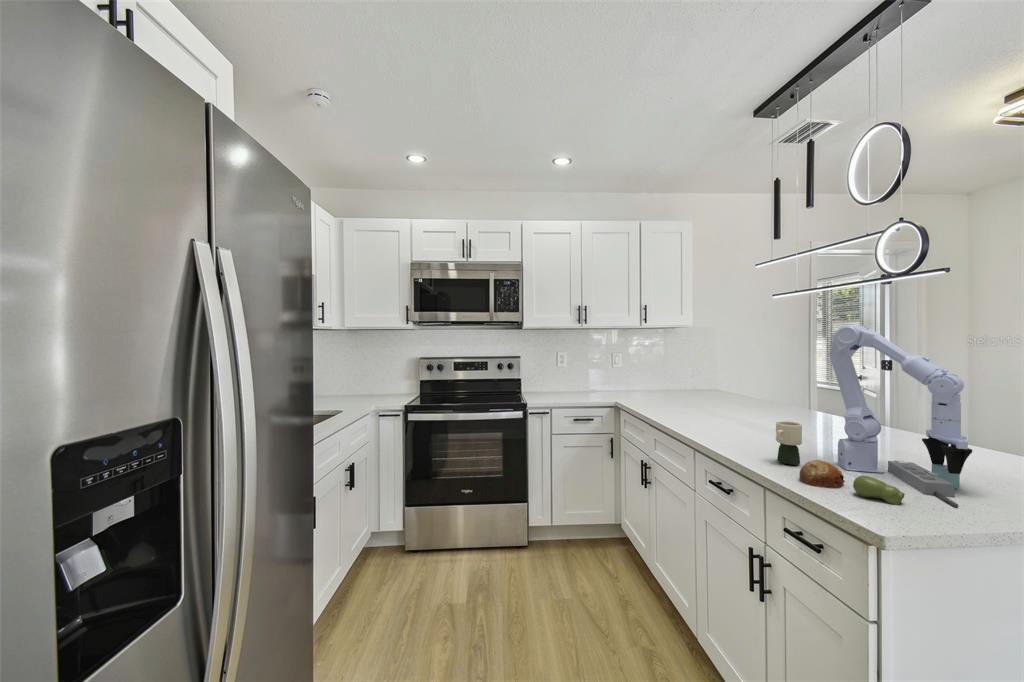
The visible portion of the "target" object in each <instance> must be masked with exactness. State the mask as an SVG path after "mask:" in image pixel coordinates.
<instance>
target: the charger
mask: <svg viewBox="0 0 1024 682" xmlns="http://www.w3.org/2000/svg"><path fill="white" fill-rule="evenodd" d="M926 473H928V474H930V475H931V476H939V477H941V478H943V479H945V480H947V481H949V482H951V483H953V484H955V489H959V490H960V489H961V488H960V487H961V486H960V485H961V484H960V480H961V479H960V478H961V477H960V476H961V473H960V474H951V473H949V471H948V467H947V464H943V465H938V464H932V463H931V471H930V472H927V471H926Z"/></svg>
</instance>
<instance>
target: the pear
mask: <svg viewBox="0 0 1024 682" xmlns="http://www.w3.org/2000/svg"><path fill="white" fill-rule="evenodd" d="M852 483H853V485H852V487H853V490H854V491H855V492H856V493H857V495H859V496H861V497H863V498H880V499H883V500H884V501H885V502H887V503H889V504H891V505H894V506H897V505H900V503H901V502H902V500H903V499H904V497H905V495H906V494H905V492H902V491H901V490H900V489H899V488H898V487H895V486H893V485H890V484H887V483H885V482H884V481H882V480H880V479H878V478H875V477H872V476H870V475H869V476H868V475H859V476H857V477H855V479H854V480H853V482H852Z"/></svg>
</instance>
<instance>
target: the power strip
mask: <svg viewBox="0 0 1024 682" xmlns="http://www.w3.org/2000/svg"><path fill="white" fill-rule="evenodd" d="M926 471H927V472H931V471H930V470H928V469H926V468H924V467H922V466H920V465H918V464H917V463H914V462H909V461H904V460H900V459H898V460H897V459H895V460H887V472H888V473H890V474H891V475H893V476H895V478H898V479H899V480H900V481H902V482H904V483H905V484H907V485H908V486H911V487H912V488H913V489H916V490H917V491H919V492H920V493H922V494H923V495H926V496H935V497H937V498H938V499H941V500H942V501H944V502H945V503H947V504H949V505H951V506H952V507H954V508H959V504H958V503H957V502H955V501H954V500H952V499H950V498H955V496H956V495H955V493H956V492H955V491H956V488H955V484H953V483H951V482H949V481H947V480H945V479H943V478H941V477H939V476H931V475H930V474H928V473H926ZM949 497H950V498H949Z"/></svg>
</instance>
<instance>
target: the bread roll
mask: <svg viewBox="0 0 1024 682" xmlns="http://www.w3.org/2000/svg"><path fill="white" fill-rule="evenodd" d="M842 472H843V471H841V470H840V469H839V468H837V467H836V466H835V465H832V464H831V463H829V462H827V461H824V460H820V459H813V460H809V461H807V462H805V463H804V464H803V465H802V466H801V469H800V471H799V479H800V481H801V482H802V483H804V484H806V485H808V486H809V485H810V486H814V487H817V486H818V488H826V487H827V489H836V488H835V487H838V488H841V487H842V486H843V485H844V483H845V482H846V480H845V479H844V478H845V476H844V475H843V473H842Z"/></svg>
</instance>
